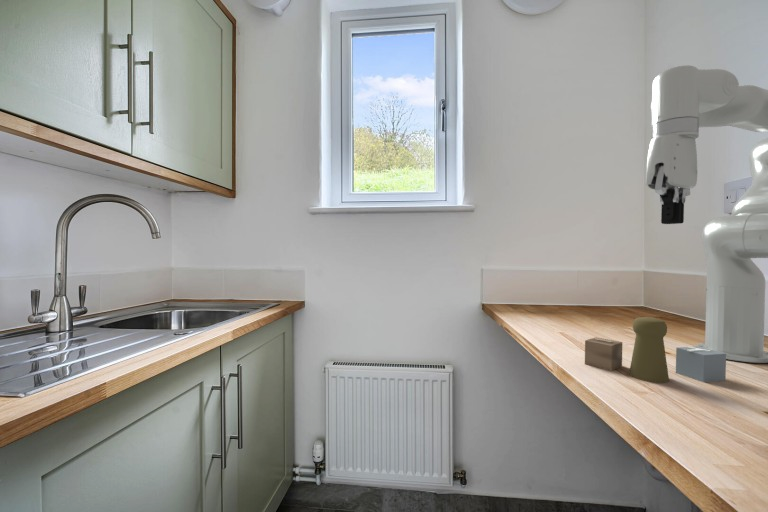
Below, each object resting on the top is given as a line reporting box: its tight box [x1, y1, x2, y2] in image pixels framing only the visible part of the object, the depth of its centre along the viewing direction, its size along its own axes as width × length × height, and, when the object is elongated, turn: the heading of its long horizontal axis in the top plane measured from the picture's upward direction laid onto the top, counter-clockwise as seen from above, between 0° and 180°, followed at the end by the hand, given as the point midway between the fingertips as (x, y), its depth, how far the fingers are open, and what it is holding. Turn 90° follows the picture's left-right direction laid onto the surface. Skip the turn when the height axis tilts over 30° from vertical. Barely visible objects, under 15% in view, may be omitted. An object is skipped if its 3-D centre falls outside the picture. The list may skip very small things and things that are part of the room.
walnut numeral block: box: [584, 336, 623, 372], centre depth 74 cm, size 5×5×5 cm
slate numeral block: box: [675, 345, 727, 383], centre depth 68 cm, size 5×5×5 cm
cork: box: [628, 316, 670, 384], centre depth 67 cm, size 6×6×11 cm
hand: (672, 223), depth 74 cm, fingers closed
